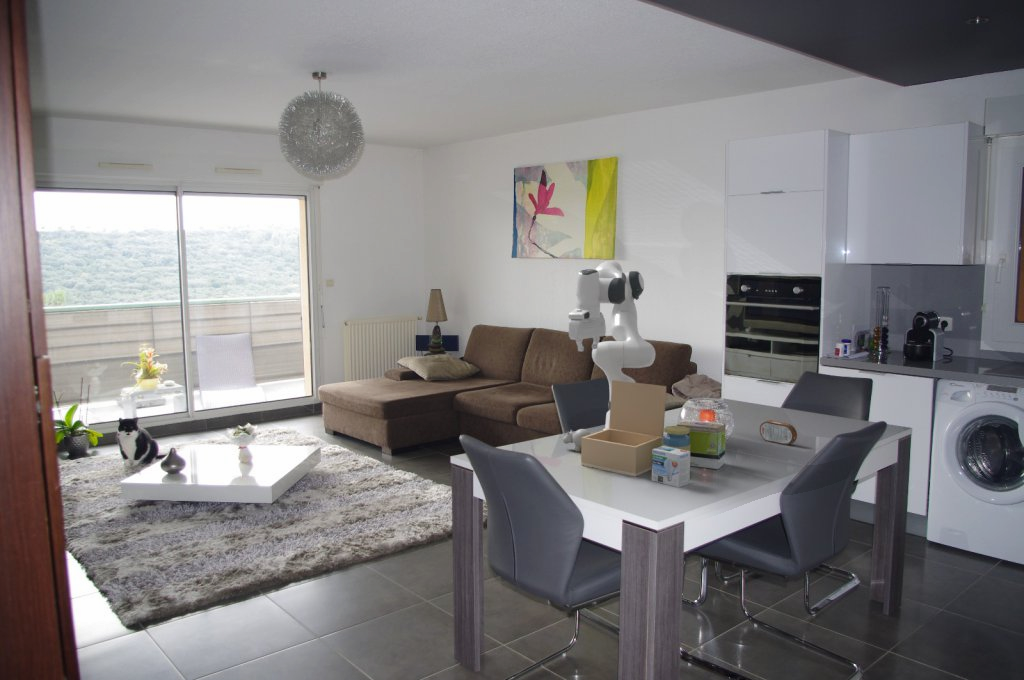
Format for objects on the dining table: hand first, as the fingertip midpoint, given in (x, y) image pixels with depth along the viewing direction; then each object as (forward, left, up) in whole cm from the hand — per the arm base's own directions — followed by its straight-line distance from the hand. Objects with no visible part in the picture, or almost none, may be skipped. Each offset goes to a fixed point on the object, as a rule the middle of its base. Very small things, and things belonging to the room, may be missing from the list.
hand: (587, 350), depth 276 cm
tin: (-57, +51, -39) cm, 86 cm away
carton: (+9, +20, -39) cm, 45 cm away
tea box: (-10, +41, -39) cm, 58 cm away
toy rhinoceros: (+2, -4, -39) cm, 39 cm away
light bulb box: (+16, +43, -39) cm, 60 cm away
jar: (+3, +39, -39) cm, 55 cm away
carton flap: (-1, +20, -20) cm, 28 cm away
